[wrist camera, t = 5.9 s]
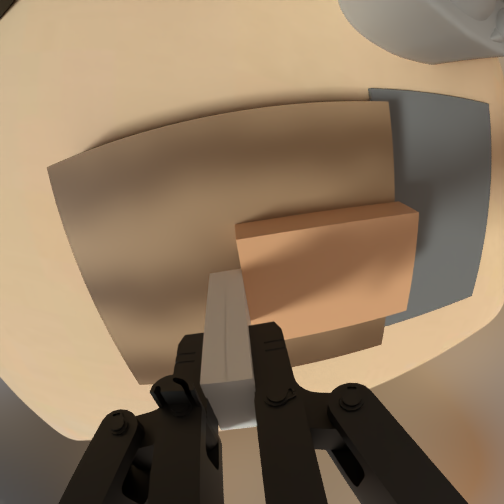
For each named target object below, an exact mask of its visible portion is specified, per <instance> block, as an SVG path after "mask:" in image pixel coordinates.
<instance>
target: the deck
mask: <svg viewBox="0 0 504 504" xmlns="http://www.w3.org/2000/svg"><path fill="white" fill-rule="evenodd" d="M47 170H48V174H49V178H50V182H51V186H52V190H53V194H54V197H55V201H56V204H57V208H58V211H59V214H60V217H61V220H62V224H63V227H64V230H65V232H66V235H67V238H68V241H69V244H70V247H71V249H72V252H73V255H74V257H75V260H76V262H77V265H78V267H79V270H80V272H81V275H82V277H83V279H84V282H85V284H86V286H87V288H88V291H89V293H90V295H91V297H92V299H93V302H94V304H95V306H96V308H97V310H98V312H99V314H100V316H101V318H102V320H103V322H104V324H105V326H106V328H107V330H108V332H109V334H110V335H111V337H112V339H113V341H114V343H115V345H116V346H117V348H118V350H119V352H120V353H121V355H122V357H123V359H124V360H125V362H126V364H127V365H128V367H129V369H130V370H131V372H132V373H133V375H134V377H135V378H136V380H137V381H138V383H139V385H145V384H155V383H156V382H157V381H158V380H159V379H161V378H163V377H165V376H168V375H173V372H174V366H175V360H176V356H177V349H178V344H179V343H180V341H181V340H182V338H183V337H184V335H188V334H196V333H204V327H205V316H206V306H207V296H208V286H209V277H210V273H217V272H223V271H229V270H236V269H241V265H240V260H239V254H238V248H237V243H236V234H235V224H241V223H247V222H253V221H260V220H266V219H272V218H279V217H286V216H292V215H299V214H306V213H313V212H320V211H327V210H334V209H342V208H350V207H357V206H365V205H373V204H382V203H390V202H395V186H394V157H393V142H392V129H391V119H390V110H389V102H386V101H336V102H315V103H301V104H289V105H279V106H270V107H262V108H255V109H248V110H241V111H235V112H229V113H223V114H218V115H213V116H208V117H203V118H198V119H193V120H189V121H184V122H180V123H176V124H172V125H168V126H164V127H160V128H156V129H153V130H149V131H145V132H142V133H139V134H135V135H132V136H129V137H125V138H122V139H119V140H116V141H113V142H110V143H107V144H104V145H101V146H99V147H96V148H93V149H90V150H88V151H85V152H82V153H80V154H77V155H75V156H72V157H70V158H67V159H65V160H63V161H60V162H58V163H56V164H53V165H51V166H49V167H47ZM385 319H386V317H382V318H378V319H375V320H371V321H367V322H363V323H359V324H355V325H351V326H347V327H343V328H339V329H335V330H330V331H326V332H321V333H317V334H312V335H307V336H302V337H297V338H292V339H287V340H285V344H286V348H287V352H288V356H289V359H290V363H291V367H295V366H300V365H304V364H309V363H313V362H318V361H322V360H326V359H330V358H334V357H338V356H342V355H346V354H350V353H353V352H357V351H361V350H364V349H368V348H371V347H374V346H378V345H381V343H382V338H383V332H384V326H385ZM250 321H251V320H250Z"/></svg>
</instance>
